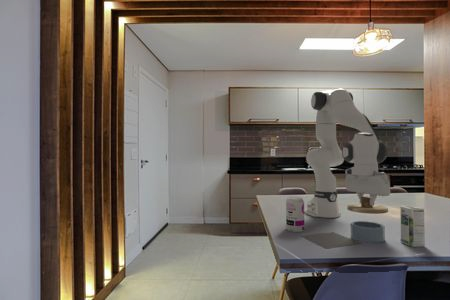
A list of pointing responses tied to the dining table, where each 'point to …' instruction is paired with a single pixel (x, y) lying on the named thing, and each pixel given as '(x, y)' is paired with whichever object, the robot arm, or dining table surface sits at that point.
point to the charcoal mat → (330, 240)
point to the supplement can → (295, 214)
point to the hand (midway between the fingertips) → (366, 204)
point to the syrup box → (412, 226)
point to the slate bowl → (367, 231)
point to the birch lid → (367, 207)
